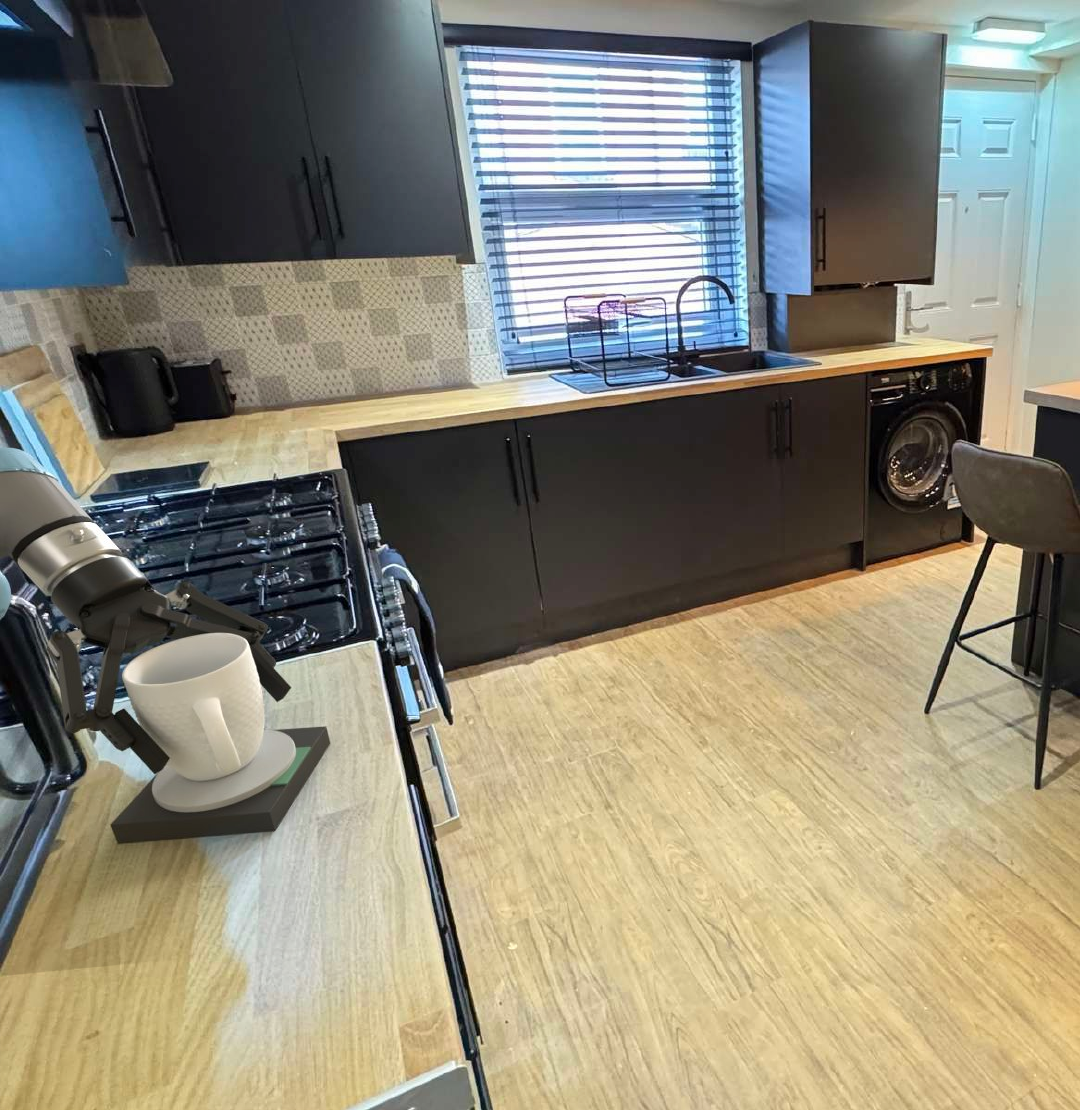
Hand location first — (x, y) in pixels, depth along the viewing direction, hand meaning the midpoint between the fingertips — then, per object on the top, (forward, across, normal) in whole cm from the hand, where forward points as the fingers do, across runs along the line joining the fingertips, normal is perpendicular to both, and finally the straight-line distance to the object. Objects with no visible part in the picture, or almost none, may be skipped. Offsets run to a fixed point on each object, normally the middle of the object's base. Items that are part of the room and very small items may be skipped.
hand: (228, 728), depth 81 cm
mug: (+2, 0, +6) cm, 6 cm away
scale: (+4, 0, +8) cm, 9 cm away
